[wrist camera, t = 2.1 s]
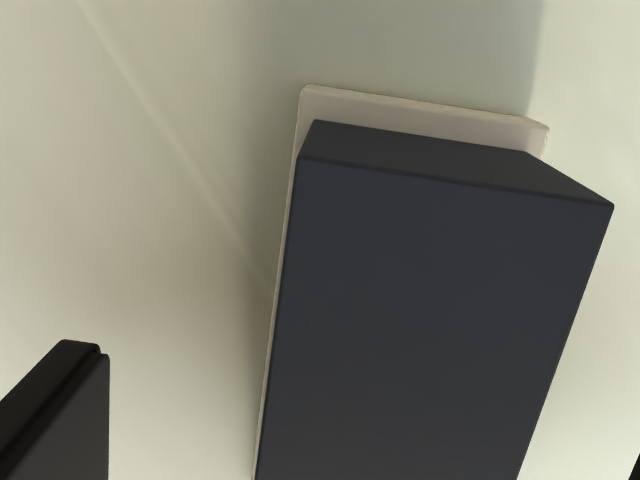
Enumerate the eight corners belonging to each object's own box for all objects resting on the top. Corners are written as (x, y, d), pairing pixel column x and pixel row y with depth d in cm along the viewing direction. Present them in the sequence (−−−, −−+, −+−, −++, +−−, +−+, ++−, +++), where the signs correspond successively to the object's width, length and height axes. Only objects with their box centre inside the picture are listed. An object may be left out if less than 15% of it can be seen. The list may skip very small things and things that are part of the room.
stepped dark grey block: (305, 82, 11) (276, 108, 6) (530, 117, 11) (657, 168, 6) (253, 478, 14) (213, 667, 10) (421, 503, 14) (453, 703, 10)
